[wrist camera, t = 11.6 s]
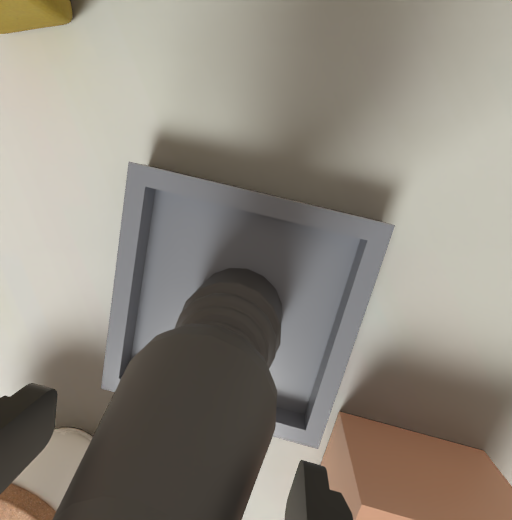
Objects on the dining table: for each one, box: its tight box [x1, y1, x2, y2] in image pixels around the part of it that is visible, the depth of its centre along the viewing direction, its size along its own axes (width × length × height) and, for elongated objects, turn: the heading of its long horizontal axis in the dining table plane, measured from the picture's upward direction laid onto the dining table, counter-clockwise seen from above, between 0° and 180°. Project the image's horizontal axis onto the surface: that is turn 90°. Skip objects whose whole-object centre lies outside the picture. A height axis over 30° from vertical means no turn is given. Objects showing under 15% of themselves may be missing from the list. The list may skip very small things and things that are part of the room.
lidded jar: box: [0, 427, 93, 520], centre depth 22 cm, size 11×11×9 cm
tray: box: [101, 162, 395, 449], centre depth 20 cm, size 16×16×2 cm
